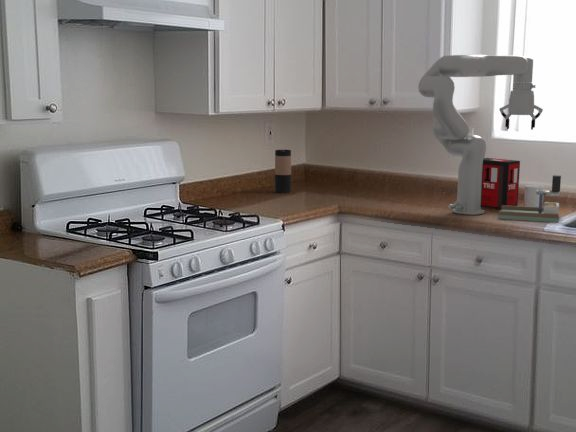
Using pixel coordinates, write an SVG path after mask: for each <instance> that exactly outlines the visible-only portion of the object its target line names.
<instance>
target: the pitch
mask: <svg viewBox="0 0 576 432" xmlns="http://www.w3.org/2000/svg"><path fill="white" fill-rule="evenodd" d="M559 217H560V213H559V214H547V213H544V206H542V213H539V207H527V206H525V205H524V206H523V205H521V206H520V205H518V206H508V205H502V208H501V209H500V210H499V211H498V220H510V219H512V220H513V221H530V222H543V223H545V222H546V223H548V222H549V223H558V222H559Z"/></svg>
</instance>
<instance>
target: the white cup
mask: <svg viewBox="0 0 576 432" xmlns="http://www.w3.org/2000/svg"><path fill="white" fill-rule="evenodd" d="M537 190H544V191H545V185H541V184H540V185H539V184H525V185H524V206H527V207H539V196H540V195H537V194H536V191H537ZM544 196H545V195H543V197H544Z"/></svg>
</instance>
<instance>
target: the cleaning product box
mask: <svg viewBox="0 0 576 432" xmlns="http://www.w3.org/2000/svg"><path fill="white" fill-rule="evenodd" d="M520 165H521V160H516V159H515V160H514V159H506V158H505V159H503V158H491V157H484V160H483V170H482V190H481V208H482V207H483V208H490V209H494V210H495V209H497V210H501V208H502V205H508V206H519V201H518V200H519V189H520V187H519V185H520V184H519V183H520V167H521V166H520Z"/></svg>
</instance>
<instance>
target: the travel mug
mask: <svg viewBox="0 0 576 432" xmlns="http://www.w3.org/2000/svg"><path fill="white" fill-rule="evenodd" d="M274 178H275V179H274V182H275V183H274V188H275V191H274V192H275V193H276V194H290V193H291V188H292V187H291V185H292V184H291V183H292V150H291V149H275V153H274Z"/></svg>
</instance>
